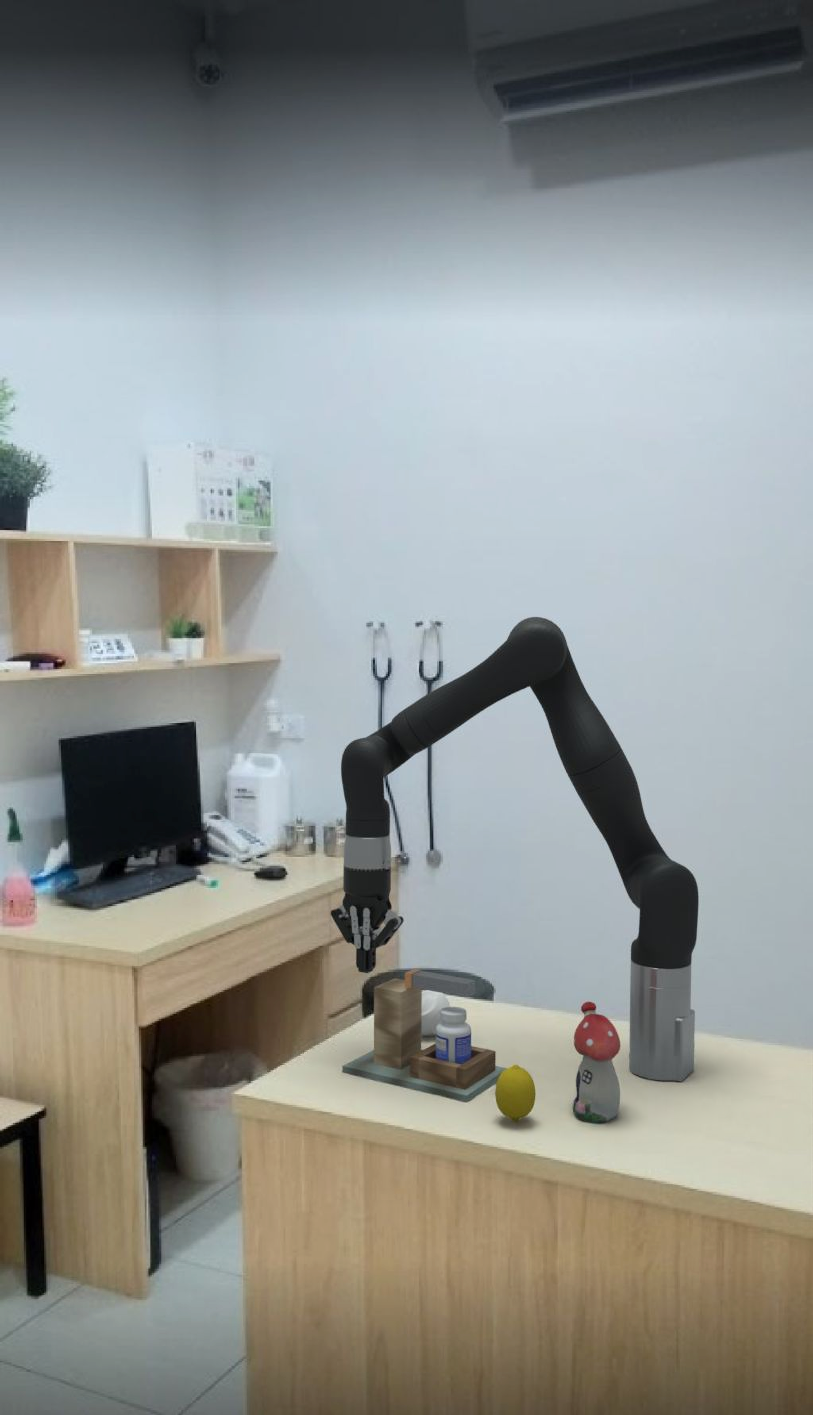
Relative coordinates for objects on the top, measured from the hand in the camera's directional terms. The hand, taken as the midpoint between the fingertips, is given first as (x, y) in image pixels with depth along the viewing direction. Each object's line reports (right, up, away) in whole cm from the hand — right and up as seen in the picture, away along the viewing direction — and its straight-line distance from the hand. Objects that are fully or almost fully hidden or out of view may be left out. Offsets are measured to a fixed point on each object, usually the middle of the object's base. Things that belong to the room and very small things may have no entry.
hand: (366, 971), depth 181 cm
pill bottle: (+14, -14, -8) cm, 21 cm away
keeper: (+12, -1, -7) cm, 14 cm away
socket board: (+9, -15, -5) cm, 18 cm away
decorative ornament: (+33, -16, -20) cm, 42 cm away
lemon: (+21, -16, -23) cm, 35 cm away
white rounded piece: (+10, -14, +13) cm, 22 cm away
